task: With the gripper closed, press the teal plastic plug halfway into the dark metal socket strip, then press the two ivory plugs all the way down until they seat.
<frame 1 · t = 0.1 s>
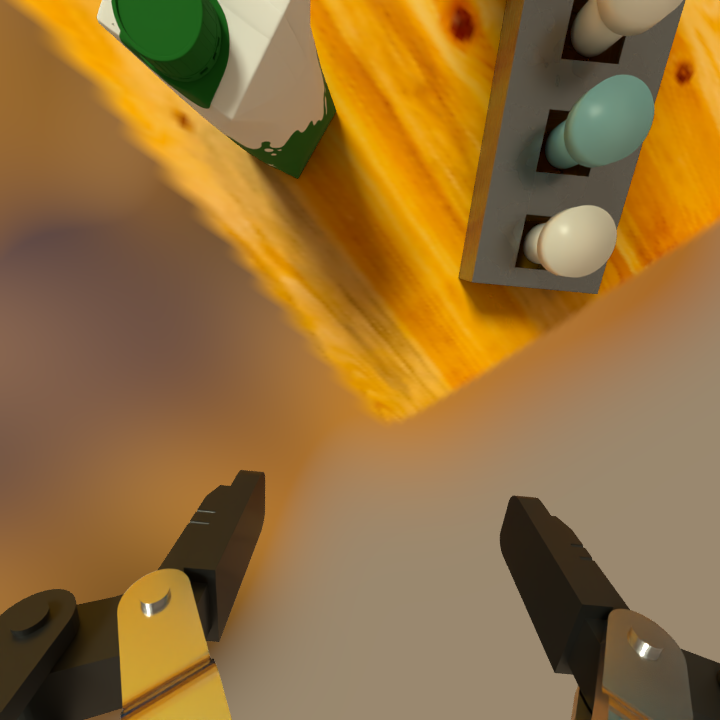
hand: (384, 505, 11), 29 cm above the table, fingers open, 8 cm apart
socket strip: (541, 158, 34), on the table
plug ivory 2: (621, 2, 24), point 8 cm above the table, slide at 0.0 cm
milk carton: (287, 123, 33), on the table
plug teal: (587, 134, 26), point 8 cm above the table, slide at 0.0 cm
plug ivory 1: (559, 243, 29), point 8 cm above the table, slide at 0.0 cm
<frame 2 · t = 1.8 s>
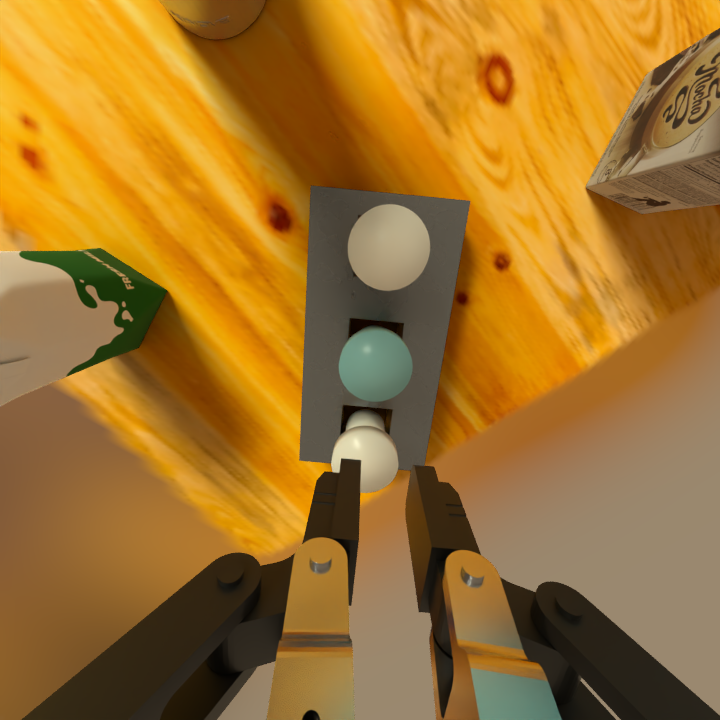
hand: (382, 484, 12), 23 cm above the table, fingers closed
coffee box: (642, 148, 29), on the table
socket strip: (373, 333, 34), on the table
plug ivory 2: (386, 249, 24), point 8 cm above the table, slide at 0.0 cm
milk carton: (122, 299, 34), on the table
plug teal: (374, 355, 27), point 8 cm above the table, slide at 0.0 cm
plug ivory 1: (365, 443, 29), point 8 cm above the table, slide at 0.0 cm
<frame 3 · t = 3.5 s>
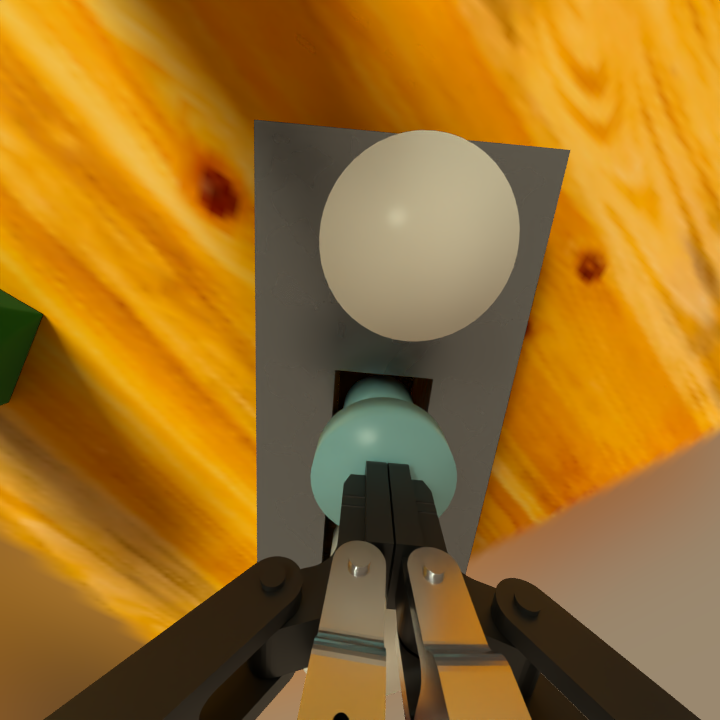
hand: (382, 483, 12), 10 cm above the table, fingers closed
socket strip: (376, 380, 21), on the table
plug ivory 2: (406, 245, 12), point 8 cm above the table, slide at 0.0 cm
plug teal: (380, 437, 15), point 7 cm above the table, slide at 0.8 cm, touching gripper
plug ivory 1: (363, 587, 17), point 8 cm above the table, slide at 0.0 cm
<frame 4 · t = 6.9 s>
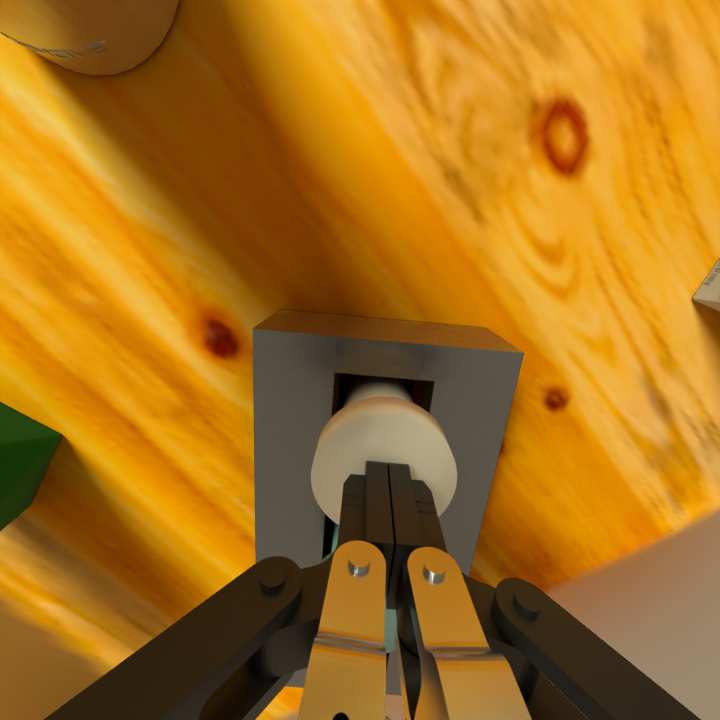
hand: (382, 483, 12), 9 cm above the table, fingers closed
socket strip: (364, 489, 24), on the table
plug ivory 2: (380, 436, 15), point 6 cm above the table, slide at 1.2 cm, touching gripper
milk carton: (0, 444, 23), on the table
plug teal: (364, 559, 18), point 6 cm above the table, slide at 2.0 cm
plug ivory 1: (351, 700, 19), point 8 cm above the table, slide at 0.0 cm
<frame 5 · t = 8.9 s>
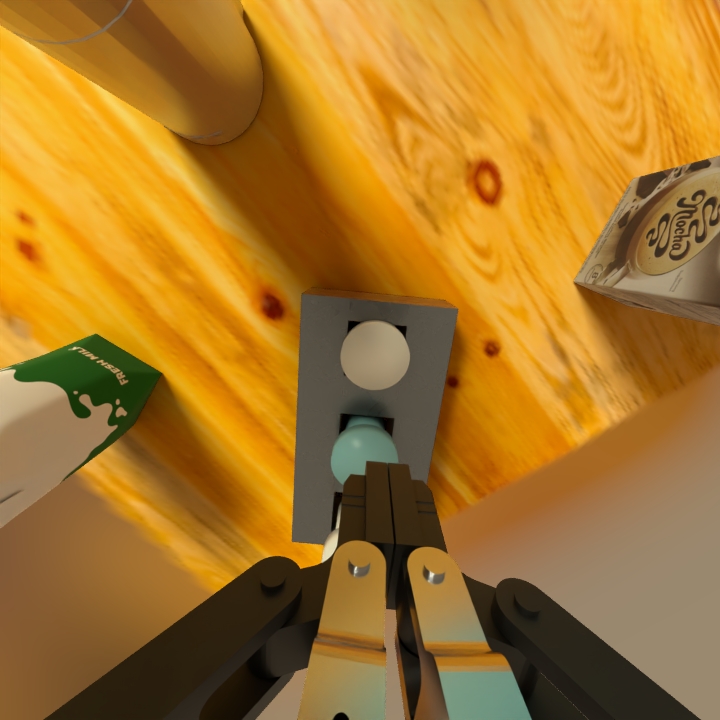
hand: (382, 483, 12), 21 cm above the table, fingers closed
coffee box: (629, 246, 29), on the table
socket strip: (365, 413, 34), on the table
plug ivory 2: (374, 347, 28), point 4 cm above the table, slide at 3.8 cm
milk carton: (117, 380, 34), on the table
plug teal: (364, 442, 29), point 6 cm above the table, slide at 2.0 cm
plug ivory 1: (355, 535, 30), point 8 cm above the table, slide at 0.0 cm
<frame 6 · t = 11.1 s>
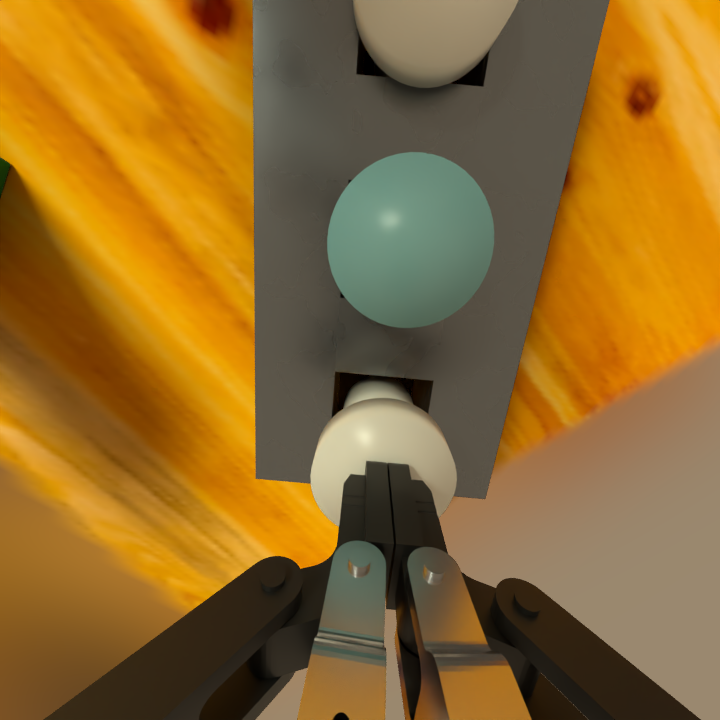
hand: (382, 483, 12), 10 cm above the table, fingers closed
socket strip: (391, 247, 19), on the table
plug ivory 2: (423, 22, 13), point 4 cm above the table, slide at 3.8 cm
plug teal: (401, 246, 14), point 6 cm above the table, slide at 2.0 cm
plug ivory 1: (380, 437, 15), point 7 cm above the table, slide at 0.9 cm, touching gripper
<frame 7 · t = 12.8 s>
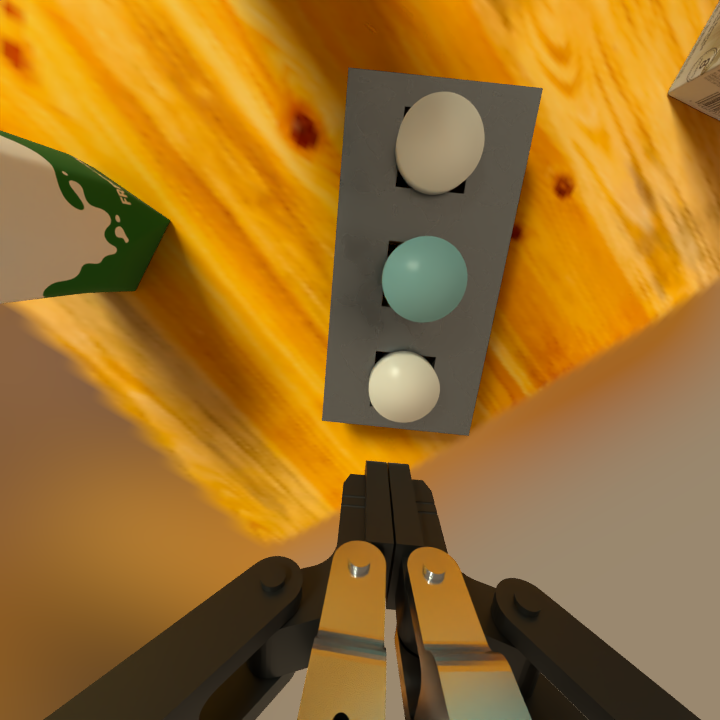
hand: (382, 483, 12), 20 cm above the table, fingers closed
socket strip: (409, 274, 29), on the table
plug ivory 2: (431, 157, 23), point 4 cm above the table, slide at 3.8 cm
milk carton: (118, 231, 29), on the table
plug teal: (418, 278, 24), point 6 cm above the table, slide at 2.0 cm
plug ivory 1: (400, 376, 28), point 4 cm above the table, slide at 3.8 cm
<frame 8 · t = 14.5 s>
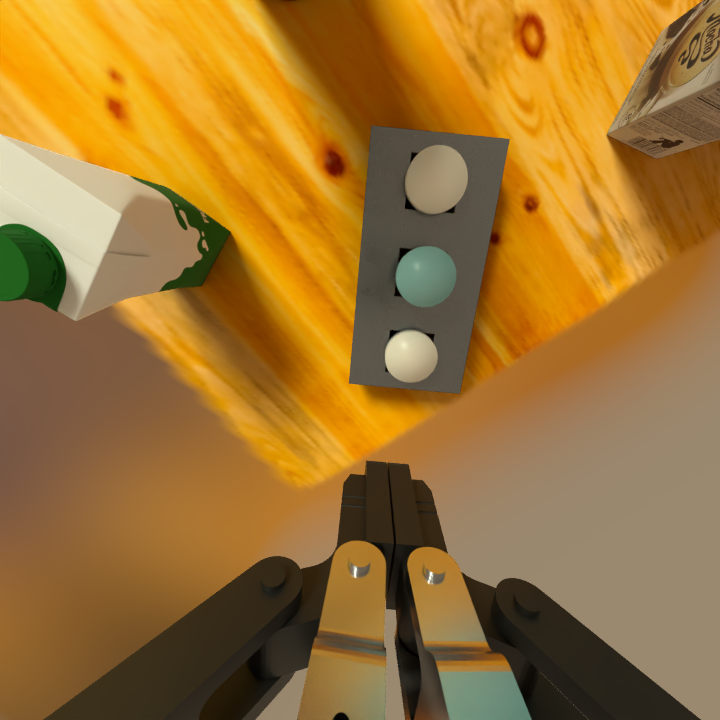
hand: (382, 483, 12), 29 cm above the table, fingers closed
coffee box: (657, 99, 33), on the table
socket strip: (413, 271, 38), on the table
plug ivory 2: (430, 186, 32), point 4 cm above the table, slide at 3.8 cm
milk carton: (189, 240, 38), on the table
plug teal: (421, 275, 33), point 6 cm above the table, slide at 2.0 cm
plug ivory 1: (408, 349, 37), point 4 cm above the table, slide at 3.8 cm
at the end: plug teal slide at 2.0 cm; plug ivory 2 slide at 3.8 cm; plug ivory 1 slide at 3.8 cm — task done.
